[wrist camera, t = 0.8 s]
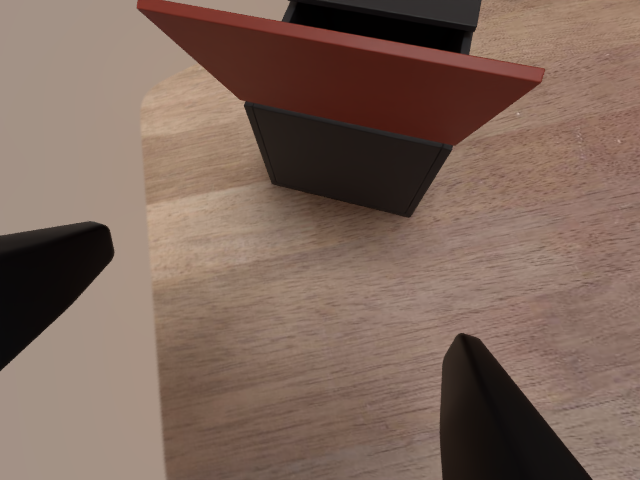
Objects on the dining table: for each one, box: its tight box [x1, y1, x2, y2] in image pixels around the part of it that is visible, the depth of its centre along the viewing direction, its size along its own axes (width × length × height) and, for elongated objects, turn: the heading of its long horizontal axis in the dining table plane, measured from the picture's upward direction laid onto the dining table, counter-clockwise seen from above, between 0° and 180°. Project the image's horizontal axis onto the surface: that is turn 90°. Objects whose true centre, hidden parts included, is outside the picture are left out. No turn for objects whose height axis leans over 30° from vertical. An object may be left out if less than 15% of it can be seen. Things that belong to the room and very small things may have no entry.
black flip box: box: [244, 0, 481, 217], centre depth 22 cm, size 15×11×9 cm
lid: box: [137, 0, 545, 146], centre depth 12 cm, size 7×11×1 cm
